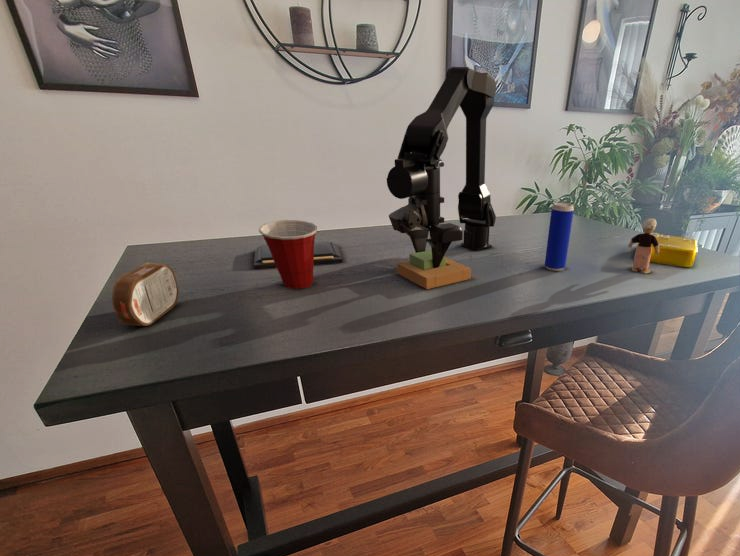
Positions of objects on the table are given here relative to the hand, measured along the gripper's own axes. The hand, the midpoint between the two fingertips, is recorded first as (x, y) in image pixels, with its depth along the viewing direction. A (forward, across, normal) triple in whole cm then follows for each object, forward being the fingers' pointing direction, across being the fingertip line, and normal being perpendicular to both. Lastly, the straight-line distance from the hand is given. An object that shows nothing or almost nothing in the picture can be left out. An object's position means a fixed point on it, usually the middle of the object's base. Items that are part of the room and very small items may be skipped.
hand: (428, 264), depth 102 cm
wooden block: (+2, +2, 0) cm, 3 cm away
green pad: (+1, 0, 0) cm, 1 cm away
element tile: (+2, +23, +63) cm, 67 cm away
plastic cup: (+2, -9, -27) cm, 28 cm away
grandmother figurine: (+2, +26, +46) cm, 53 cm away
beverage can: (+2, +13, +29) cm, 32 cm away
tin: (+2, -6, -53) cm, 53 cm away
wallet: (+2, -28, -20) cm, 34 cm away
